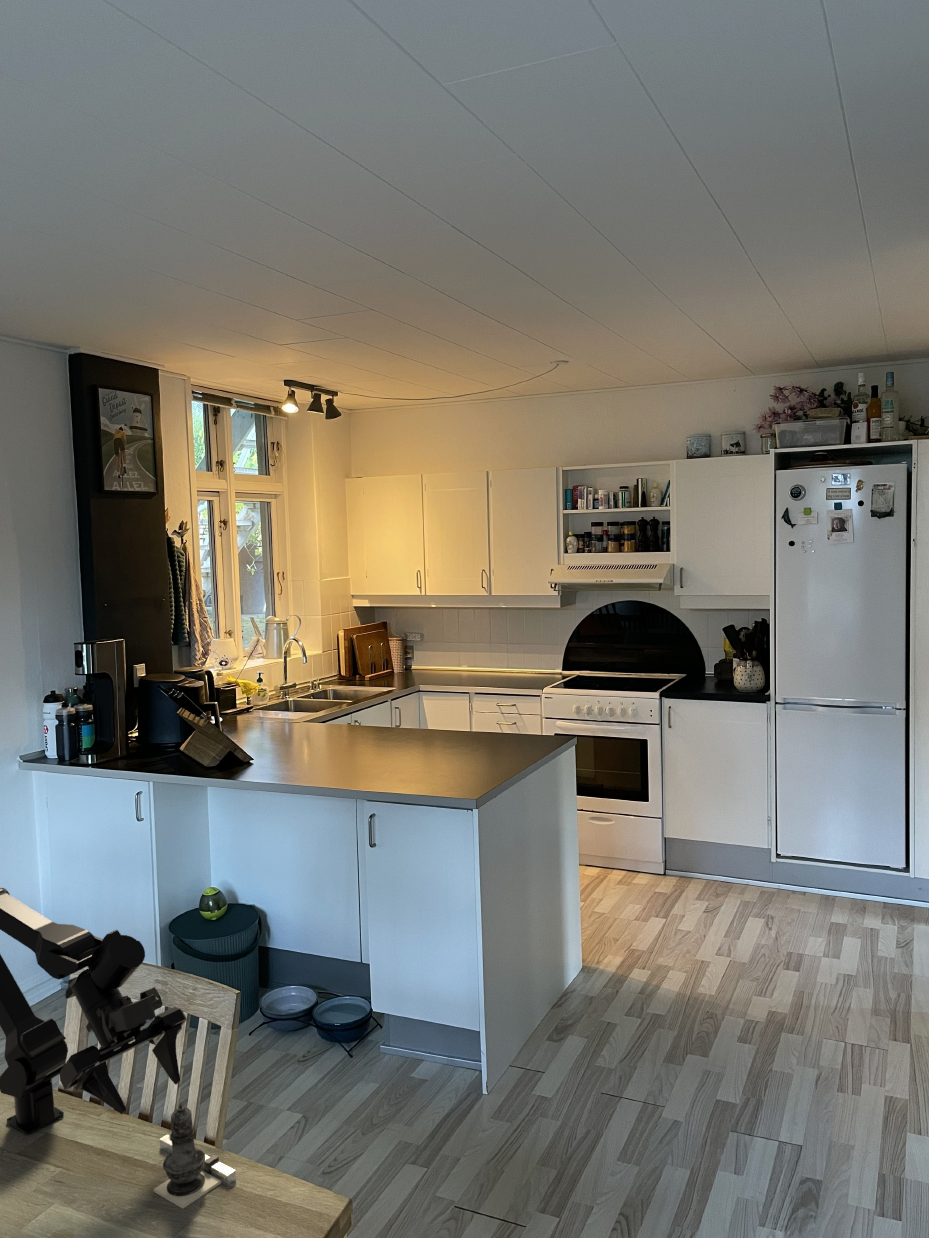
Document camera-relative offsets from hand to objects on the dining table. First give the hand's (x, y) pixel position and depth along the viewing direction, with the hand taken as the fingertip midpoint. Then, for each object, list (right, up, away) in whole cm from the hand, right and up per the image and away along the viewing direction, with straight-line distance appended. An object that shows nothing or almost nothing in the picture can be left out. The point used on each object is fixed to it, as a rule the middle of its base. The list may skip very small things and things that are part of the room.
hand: (151, 1097), depth 143 cm
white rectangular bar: (+6, -11, +2) cm, 12 cm away
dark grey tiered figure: (+6, -11, -4) cm, 13 cm away
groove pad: (+6, -11, -4) cm, 13 cm away
